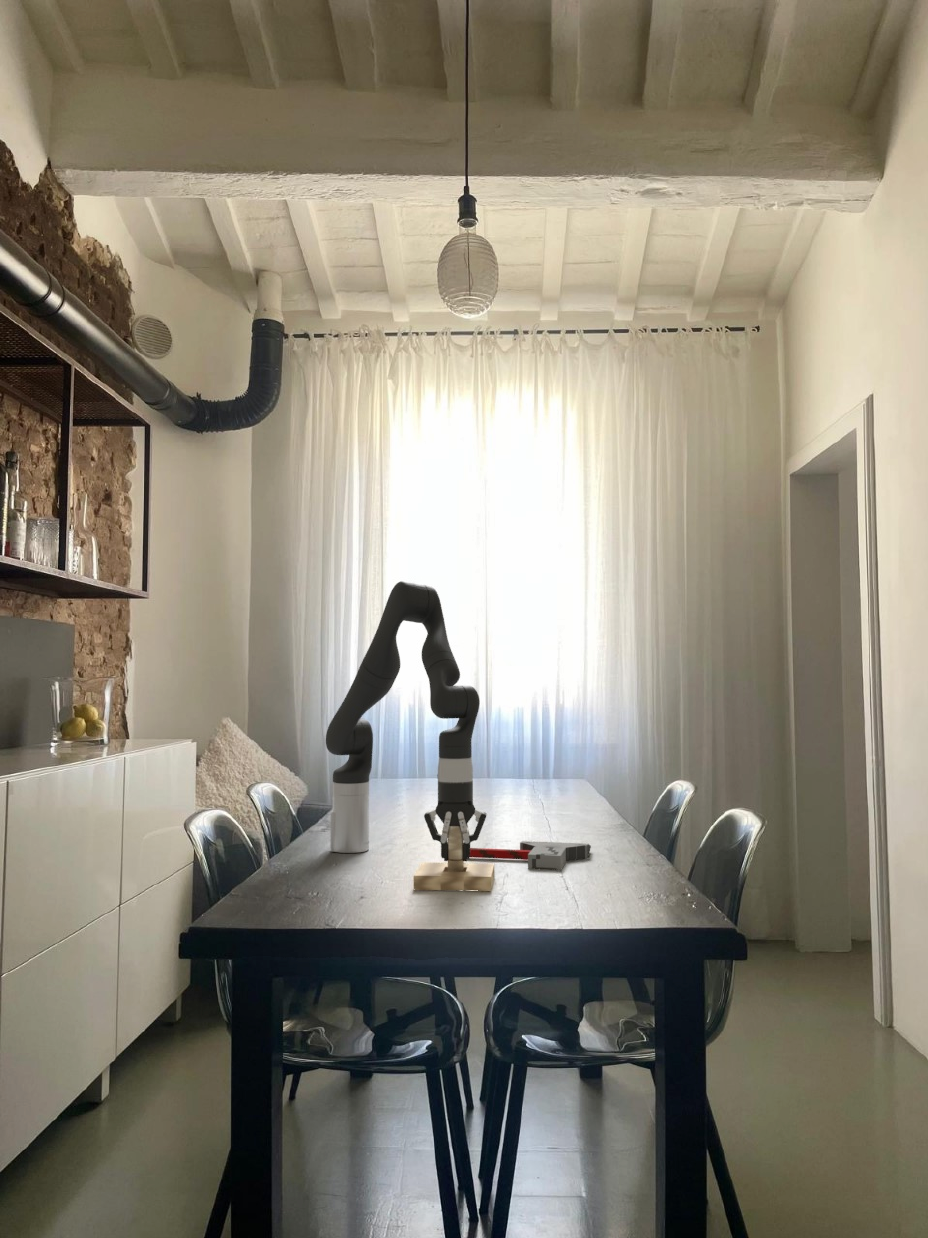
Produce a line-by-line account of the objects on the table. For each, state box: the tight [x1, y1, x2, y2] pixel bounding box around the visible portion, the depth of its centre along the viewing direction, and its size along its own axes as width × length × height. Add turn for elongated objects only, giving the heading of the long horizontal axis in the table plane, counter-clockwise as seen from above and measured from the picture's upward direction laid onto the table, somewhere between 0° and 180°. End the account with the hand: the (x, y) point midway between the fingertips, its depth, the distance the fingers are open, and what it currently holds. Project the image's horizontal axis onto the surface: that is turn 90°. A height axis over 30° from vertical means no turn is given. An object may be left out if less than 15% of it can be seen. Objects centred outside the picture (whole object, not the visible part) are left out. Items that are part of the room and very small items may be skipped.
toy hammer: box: [469, 840, 592, 871], centre depth 232 cm, size 24×4×30 cm
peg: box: [447, 826, 465, 872], centre depth 204 cm, size 4×4×10 cm
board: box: [413, 861, 496, 892], centre depth 204 cm, size 16×14×3 cm
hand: (455, 860), depth 204 cm, fingers closed on peg, 3 cm apart
